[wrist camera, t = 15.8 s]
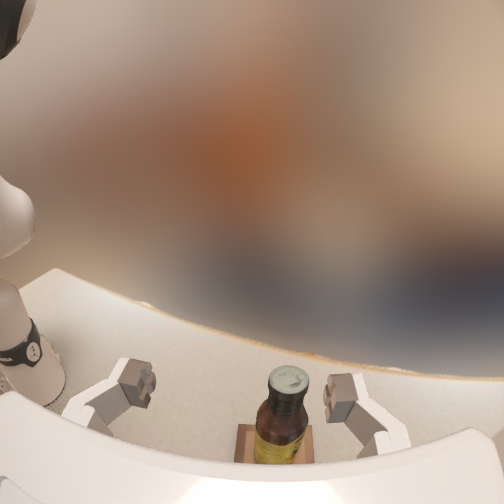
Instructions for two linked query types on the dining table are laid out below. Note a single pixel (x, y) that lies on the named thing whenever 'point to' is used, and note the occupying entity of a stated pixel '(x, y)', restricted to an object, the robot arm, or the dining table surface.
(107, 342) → the dining table surface
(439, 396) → the dining table surface
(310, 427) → the trivet
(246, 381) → the dining table surface
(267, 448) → the sauce bottle
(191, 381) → the dining table surface
